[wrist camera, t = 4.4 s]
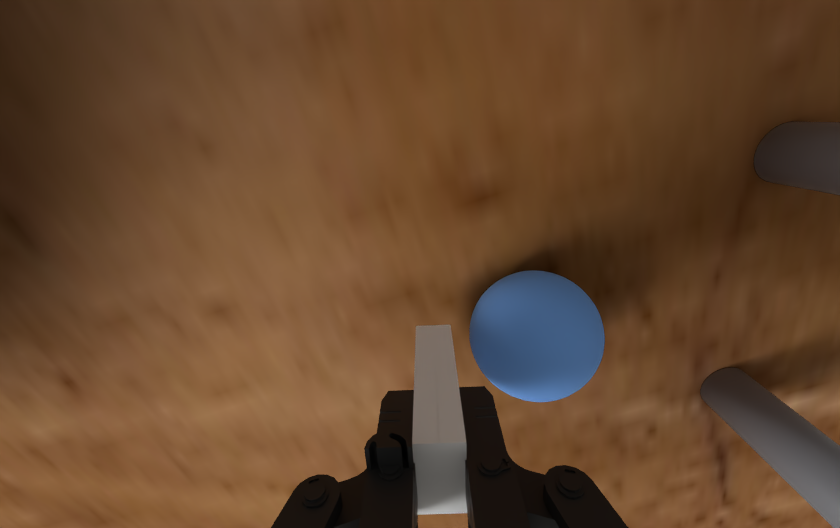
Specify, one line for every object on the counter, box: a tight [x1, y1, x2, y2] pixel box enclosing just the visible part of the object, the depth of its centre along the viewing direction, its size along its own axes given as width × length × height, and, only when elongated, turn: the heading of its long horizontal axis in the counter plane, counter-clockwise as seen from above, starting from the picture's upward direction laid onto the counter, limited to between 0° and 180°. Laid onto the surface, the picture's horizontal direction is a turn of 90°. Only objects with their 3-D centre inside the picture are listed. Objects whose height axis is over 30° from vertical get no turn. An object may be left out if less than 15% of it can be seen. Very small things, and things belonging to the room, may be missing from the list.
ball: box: [470, 270, 605, 402], centre depth 17 cm, size 6×6×6 cm
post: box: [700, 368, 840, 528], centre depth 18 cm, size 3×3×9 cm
